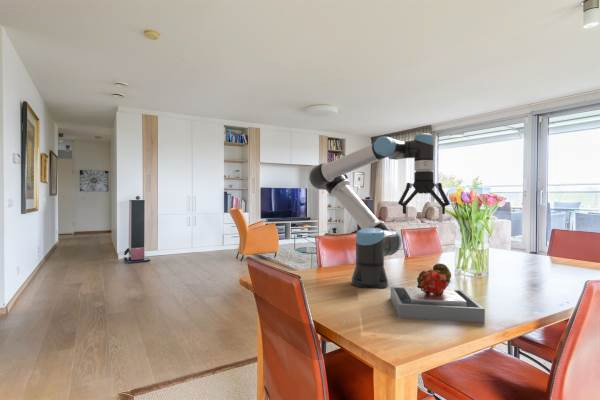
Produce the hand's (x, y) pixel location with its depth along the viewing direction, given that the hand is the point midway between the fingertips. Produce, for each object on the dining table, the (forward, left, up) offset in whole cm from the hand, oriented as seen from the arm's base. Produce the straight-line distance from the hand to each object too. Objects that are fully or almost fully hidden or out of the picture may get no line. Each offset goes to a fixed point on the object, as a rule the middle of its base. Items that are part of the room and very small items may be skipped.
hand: (423, 222), depth 141 cm
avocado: (+11, +11, -27) cm, 31 cm away
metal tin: (-4, -34, -26) cm, 43 cm away
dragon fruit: (-4, -34, -21) cm, 40 cm away
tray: (-4, -34, -27) cm, 43 cm away
